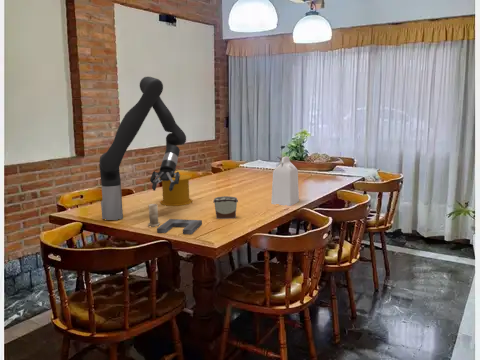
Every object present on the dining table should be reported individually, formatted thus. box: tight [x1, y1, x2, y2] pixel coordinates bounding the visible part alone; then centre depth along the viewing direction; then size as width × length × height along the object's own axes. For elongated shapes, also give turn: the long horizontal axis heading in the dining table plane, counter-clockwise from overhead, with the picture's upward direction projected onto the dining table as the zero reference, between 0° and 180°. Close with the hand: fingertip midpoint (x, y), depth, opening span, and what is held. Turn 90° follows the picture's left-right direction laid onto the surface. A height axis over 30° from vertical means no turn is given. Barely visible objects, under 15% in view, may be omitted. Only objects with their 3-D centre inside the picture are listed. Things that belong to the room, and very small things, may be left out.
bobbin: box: [147, 203, 161, 228], centre depth 208 cm, size 5×5×10 cm
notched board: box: [156, 218, 203, 235], centre depth 203 cm, size 16×16×2 cm
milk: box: [270, 155, 300, 207], centre depth 248 cm, size 12×12×26 cm
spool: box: [159, 174, 193, 207], centre depth 254 cm, size 18×18×15 cm
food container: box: [212, 195, 239, 220], centre depth 221 cm, size 12×6×10 cm, turn 92°
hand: (161, 190), depth 218 cm, fingers open, 8 cm apart
